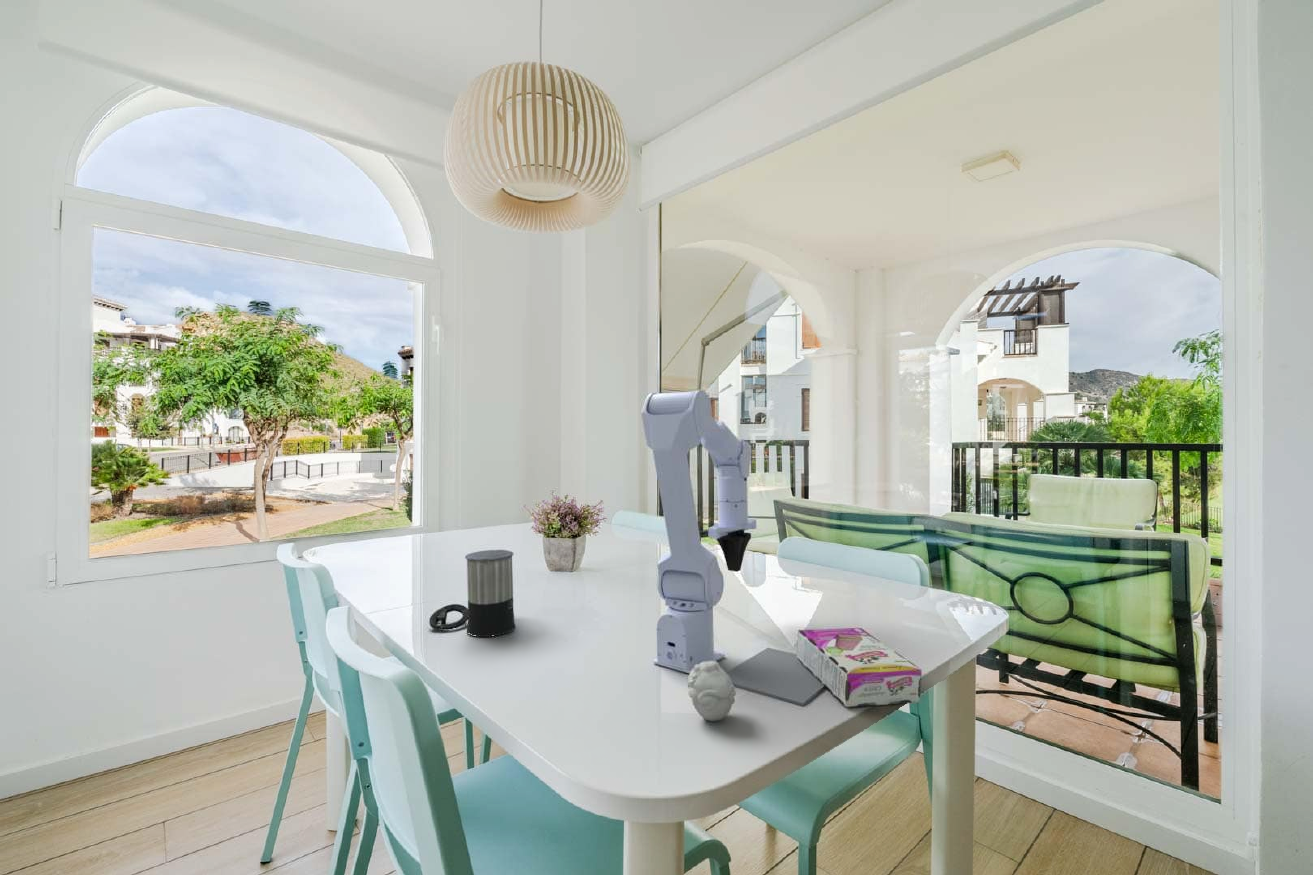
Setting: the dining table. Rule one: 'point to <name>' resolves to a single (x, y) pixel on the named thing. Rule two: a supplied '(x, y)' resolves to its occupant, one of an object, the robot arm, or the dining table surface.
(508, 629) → the milk frother
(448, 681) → the dining table surface
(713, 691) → the white carved ornament
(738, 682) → the rubber mat
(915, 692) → the candy bar box
